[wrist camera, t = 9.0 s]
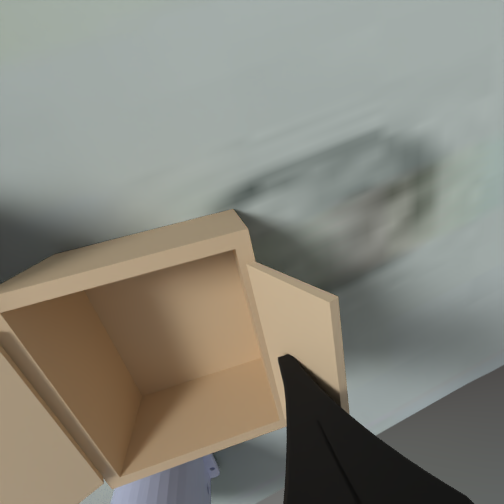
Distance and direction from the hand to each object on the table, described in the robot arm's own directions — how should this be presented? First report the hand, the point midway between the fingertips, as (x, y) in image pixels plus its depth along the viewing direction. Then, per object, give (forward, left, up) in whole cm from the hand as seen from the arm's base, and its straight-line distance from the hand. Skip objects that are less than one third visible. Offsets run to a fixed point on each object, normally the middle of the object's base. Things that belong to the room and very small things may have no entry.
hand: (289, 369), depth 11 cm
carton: (0, +6, -8) cm, 10 cm away
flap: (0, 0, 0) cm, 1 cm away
